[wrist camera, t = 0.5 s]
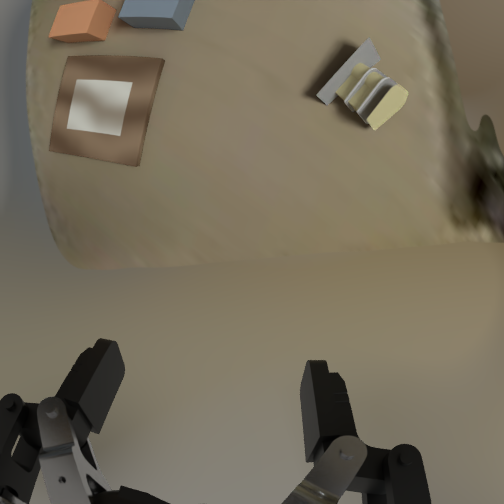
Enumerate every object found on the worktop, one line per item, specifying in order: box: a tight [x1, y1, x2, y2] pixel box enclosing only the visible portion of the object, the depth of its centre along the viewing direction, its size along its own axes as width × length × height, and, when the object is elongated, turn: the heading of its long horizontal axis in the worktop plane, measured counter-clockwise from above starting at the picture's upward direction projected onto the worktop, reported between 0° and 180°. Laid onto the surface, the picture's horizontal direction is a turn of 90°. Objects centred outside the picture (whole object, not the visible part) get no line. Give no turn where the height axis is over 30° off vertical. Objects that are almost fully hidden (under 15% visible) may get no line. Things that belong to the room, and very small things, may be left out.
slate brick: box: [118, 0, 195, 30], centre depth 23 cm, size 5×7×5 cm
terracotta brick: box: [49, 0, 116, 43], centre depth 23 cm, size 5×7×5 cm
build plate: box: [49, 55, 165, 167], centre depth 30 cm, size 14×15×1 cm
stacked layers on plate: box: [317, 38, 408, 131], centre depth 28 cm, size 10×9×6 cm
